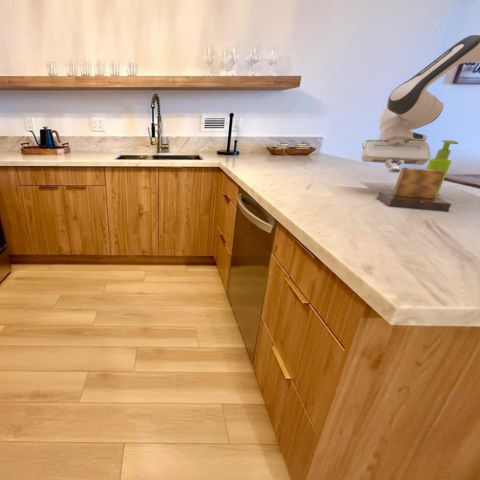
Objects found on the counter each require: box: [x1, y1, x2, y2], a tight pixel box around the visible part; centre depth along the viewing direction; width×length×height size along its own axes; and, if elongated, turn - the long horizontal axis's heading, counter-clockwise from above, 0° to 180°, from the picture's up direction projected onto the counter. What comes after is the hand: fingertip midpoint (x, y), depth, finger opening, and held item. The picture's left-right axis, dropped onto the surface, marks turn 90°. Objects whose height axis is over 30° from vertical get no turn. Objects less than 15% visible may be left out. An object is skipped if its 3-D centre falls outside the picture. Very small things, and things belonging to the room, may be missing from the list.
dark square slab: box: [376, 189, 452, 212], centre depth 99 cm, size 16×15×3 cm
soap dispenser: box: [426, 140, 459, 197], centre depth 107 cm, size 6×7×20 cm
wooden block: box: [393, 167, 445, 199], centre depth 96 cm, size 11×2×9 cm, turn 70°
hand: (394, 171), depth 104 cm, fingers closed
